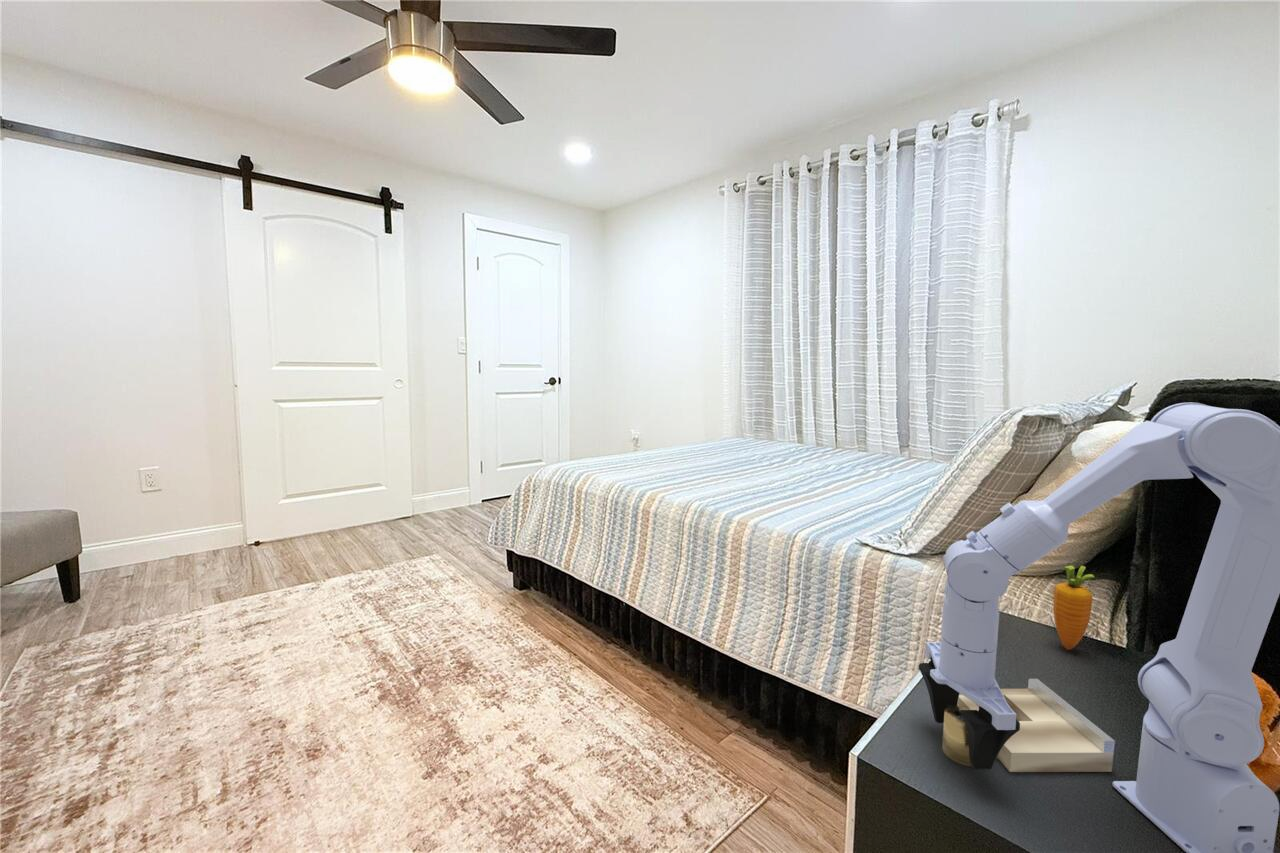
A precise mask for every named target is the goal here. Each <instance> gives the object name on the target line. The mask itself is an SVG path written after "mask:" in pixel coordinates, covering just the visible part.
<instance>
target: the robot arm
mask: <svg viewBox="0 0 1280 853" xmlns="http://www.w3.org/2000/svg"><path fill="white" fill-rule="evenodd" d="M1193 474H1195V476H1196V477H1197V478H1198V479H1199V480H1200V481H1201V482H1202V483H1203V484H1204V485H1205V486H1206V487H1207V488H1208V489H1210V490H1211V491H1212V493H1214V494H1215V495H1216V496H1217V497H1218V498H1219V500H1220V504H1219V508H1218V511H1217V514H1216V517H1215V520H1214V523H1213V526H1212V529H1211V532H1210V535H1209V538H1208V541H1207V544H1206V546H1205V547H1206V548H1205V550H1204V553H1203V556H1202V560H1201V563H1200V565H1199V568H1198V572H1197V574H1196V577H1195V580H1194V584H1193V586H1192V589H1191V591H1190V596H1189V598H1188V601H1187V604H1186V607H1185V610H1184V614H1183V616H1182V619H1181V622H1180V625H1179V627H1178V631H1177V634H1176V637H1175V639H1172V640H1168V641H1165V642H1162V643H1161V644H1160V645H1159V647H1158V651H1157V653H1156V655H1155V656H1154V657H1153V658H1152V659H1151V660H1150V661H1148V662H1147V663H1146V664H1144V665H1143V666H1142V667H1141V669H1139V672H1138V674H1137V683H1138V684H1137V685H1138V687H1139V690H1140V691H1141V693H1142V694H1143V696H1144V697H1145V699H1147V700H1148V701H1149V702H1148V709H1147V711H1146V712H1145V713H1144V715H1143V720H1142V730H1141V735H1140V736H1141V738H1140V748H1139V756H1138V762H1137V772H1136V780H1120V781H1119V780H1113V781H1112V787H1114V789H1116V790H1117V792H1118V793H1120V794H1121V795H1122V796H1123V797H1124V798H1125V799H1126V800H1127V801H1129V803H1131V804H1132V805H1133V806H1134V807H1135V808H1136V809H1137V810H1138V811H1140V812H1141V813H1142V814H1143V815H1144V816H1145V817H1146V818H1147V819H1148V820H1150V821H1151V822H1152V823H1153V824H1154V825H1155V826H1157V827H1158V828H1159V829H1160V830H1161V831H1162V832H1163V833H1164V834H1165V835H1166V836H1168V837H1169V838H1170V839H1171V841H1173V842H1174V843H1176V845H1177V846H1179V847H1180V848H1181V849H1182V850H1183V851H1184V852H1186V853H1274V849H1275V841H1276V835H1277V829H1278V828H1277V827H1278V821H1279V816H1280V802H1279V799H1278V796H1277V795H1276V794H1275V792H1274V791H1273V790H1272V789H1271V788H1270V787H1268V786H1267V785H1266V784H1265V783H1264V782H1262V780H1260V779H1259V777H1257V776H1256V775H1255V773H1254V772H1253V771H1252V769H1251V768H1250V766H1248V764H1250V763H1252V762H1253V761H1255V760H1257V759H1258V758H1259V757H1260V755H1261V754H1262V752H1263V750H1264V747H1265V740H1264V734H1263V732H1262V729H1261V726H1260V716H1261V714H1262V711H1263V702H1262V699H1261V697H1260V693H1259V690H1258V688H1257V685H1256V682H1255V679H1254V676H1253V673H1252V670H1253V667H1254V664H1255V662H1256V658H1257V657H1258V653H1259V651H1260V648H1261V646H1262V644H1263V639H1264V637H1265V635H1266V632H1267V629H1268V625H1270V624H1269V623H1270V621H1271V619H1272V618H1271V617H1272V615H1273V613H1274V610H1275V607H1276V604H1277V602H1278V599H1279V597H1280V426H1279V424H1277V423H1276V422H1275V421H1274V420H1272V419H1271V418H1269V417H1267V416H1265V415H1264V414H1261V413H1260V412H1256V411H1252V410H1250V409H1242V408H1240V409H1239V408H1225V407H1219V406H1218V407H1217V406H1211V405H1207V404H1204V403H1200V402H1180V403H1175V404H1172V405H1168V406H1167V407H1164V408H1163V409H1161V410H1160V411H1158V412H1157V413H1156V414H1155V415H1153V417H1152V418H1151V420H1145V421H1144V422H1141V423H1140V424H1137V425H1135V426H1133V428H1132V429H1130V430H1129V431H1128V432H1127V433H1126V434H1125V435H1124V436H1122V437H1121V438H1120V439H1119V440H1118V441H1117V442H1116V443H1115V444H1113V445H1112V446H1111V447H1109V448H1108V449H1107V450H1105V451H1104V452H1103V453H1102V454H1100V455H1099V456H1098V457H1097V458H1095V459H1094V460H1092V462H1089V464H1088V465H1086V466H1085V467H1084V468H1082V469H1081V470H1079V472H1077V473H1076V474H1075V475H1073V476H1072V477H1071V478H1070V479H1068V480H1067V481H1066V482H1064V483H1063V484H1062V485H1060V486H1059V487H1058V488H1057V489H1055V490H1054V491H1053V492H1051V493H1050V494H1048V496H1047V497H1045V498H1044V499H1042V500H1029V499H1028V500H1020V501H1019V502H1018V503H1017V504H1015V505H1013V504H1012V503H1010V502H1007V503H1006V504H1004V505H1003V506H1002V507H1000V508H999V510H1000V512H1001V515H999V516H997V517H996V518H995V519H994V520H992V521H991V522H989V523H987V525H985V526H984V527H982V528H981V529H980V530H978V531H977V532H975V531H974V530H971V531H970V532H968V533H967V534H965V537H966V539H965V540H963V539H960V540H958V541H955V542H953V543H952V544H951V545H949V546H948V548H947V549H946V551H945V554H944V555H943V556H942V564H943V567H944V569H945V572H946V576H947V577H946V583H945V586H944V595H945V596H944V598H943V600H942V612H941V613H942V615H941V616H942V617H941V629H940V630H941V632H940V641H939V642H938V641H937V642H936V641H935V642H934V641H932V642H931V641H926V642H925V650H924V651H925V653H924V655H925V657H926V658H928V660H929V661H928V662H922V663H921V662H920V663H919V664H918V670H919V672H920V674H921V676H922V678H923V680H924V683H925V685H926V689H927V691H928V692H927V693H928V696H929V701H930V705H931V711H932V714H933V718H934V722H936V723H937V724H944V711H945V709H946V708H947V707H949V706H957V702H958V697H959V694H962V695H964V696H965V697H967V698H968V699H970V700H971V701H973V702H974V703H976V704H977V705H979V706H980V707H979V711H977V710H960V714H961V715H962V718H963V720H964V722H965V725H966V729H967V733H968V739H969V758H970V762H971V765H972V766H971V767H972V768H973V769H975V770H992V768H993V766H994V764H995V761H996V760H997V759H998V758H997V755H998V753H999V752H1000V750H1001V748H1002V747H1003V745H1004V744H1005V743H1006V741H1007V740H1008V739H1009V738H1010V737H1011V736H1013V735H1014V734H1015V733H1016V732H1018V731H1019V730H1020V723H1019V721H1018V720H1017V719H1016V715H1017V714H1016V713H1015V712H1014V711H1013V710H1012V709H1011V708H1010V706H1009V705H1008V703H1007V701H1006V699H1005V697H1004V695H1003V693H1002V691H1001V689H1002V688H1000V686H999V683H998V682H997V679H996V678H995V677H996V665H997V654H998V652H997V650H998V636H999V623H1000V610H999V609H1000V608H999V599H1000V597H1002V596H1004V594H1006V592H1007V590H1008V587H1009V583H1010V582H1009V581H1010V578H1011V577H1012V576H1016V575H1017V574H1019V573H1020V572H1022V571H1024V570H1025V569H1027V568H1028V567H1030V566H1031V565H1033V564H1034V563H1036V562H1037V561H1039V560H1041V559H1042V558H1044V557H1046V556H1047V555H1048V554H1050V553H1051V552H1053V551H1054V550H1056V549H1057V548H1059V547H1060V546H1062V545H1064V544H1065V543H1066V542H1067V541H1068V537H1069V536H1068V535H1069V534H1068V533H1069V527H1070V524H1073V523H1074V522H1076V521H1077V520H1078V519H1081V518H1082V517H1085V516H1086V515H1087V514H1089V513H1090V512H1092V511H1094V510H1096V509H1097V508H1099V507H1100V506H1103V505H1104V504H1106V503H1107V502H1110V501H1111V500H1113V499H1114V498H1116V497H1117V496H1120V495H1121V494H1122V493H1125V492H1126V491H1128V490H1130V489H1131V488H1133V487H1135V486H1136V485H1138V484H1140V483H1142V482H1144V481H1149V480H1179V479H1180V480H1181V479H1193V478H1194V475H1193Z"/></svg>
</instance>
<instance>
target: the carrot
mask: <svg viewBox="0 0 1280 853" xmlns="http://www.w3.org/2000/svg"><path fill="white" fill-rule="evenodd" d="M1086 568H1087V567H1086V566H1085V565H1080V567H1079V568H1078V571H1077V574H1076V576H1075V570H1076V568H1075V567H1074V565H1067V566H1065V567H1064V570H1065V572H1066V576H1067V582H1062V583H1056V584H1055V586H1054V589H1053V617H1054V624H1055V629H1056V632H1057V635H1058V637H1059V639H1060V641H1061V644H1062V646H1063V647H1064V648H1065V650H1067V651H1070V650H1072V649H1074V648H1075V647H1076V646H1077V645H1078V644H1079V643H1080V642H1081V640H1082V639H1083V637H1084V635H1085V633H1086V631H1087V627H1088V625H1089V622H1090V620H1091V612H1092V605H1093V598H1094V596H1093V595H1092V593H1091V592H1090V590H1089V588H1087V587H1086V586H1084V585H1082V584H1083V583H1084V582H1086V581H1088V580H1091V579H1095V575H1094V574H1092V573H1091V574H1090V573H1089V574H1085V575H1083V574H1084V572H1085V570H1086Z"/></svg>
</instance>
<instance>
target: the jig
mask: <svg viewBox="0 0 1280 853" xmlns="http://www.w3.org/2000/svg"><path fill="white" fill-rule="evenodd" d="M1027 684H1028V685H1027V688H1000V689H1001V691H1002V693H1003V695H1004V697H1005V699H1006V701H1007V703H1008V705H1009V706H1010V708H1011V709H1012V710H1013V711H1014V712H1015V713H1016V714H1017V715H1016V719H1017V720H1018V721H1019V723H1020V730H1019V731H1018V732H1016V733H1015V734H1014V735H1013V736H1011V737H1010V738H1009V739H1008V740H1007V741H1006V743H1005V744H1004V745H1003V747H1002V748H1001V750H1000V752H999V753H998V755H997V758H996V759H998V760H999V762H1001V764H1002V765H1003V766H1004V767H1005V768H1006V769H1007V771H1008V772H1009V773H1050V772H1051V773H1068V772H1069V773H1076V772H1077V773H1082V772H1083V773H1089V772H1090V773H1093V772H1096V773H1104V772H1105V773H1107V772H1109V773H1111V772H1112V770H1113V762H1114V755H1115V754H1114V752H1115V744H1116V740H1114V739H1113V738H1112V737H1111V736H1110V735H1108V734H1107V733H1106V732H1104V731H1103V730H1102V729H1101V728H1100V727H1098V726H1097V725H1096V724H1094V723H1093V722H1092V721H1091V720H1090V719H1088V718H1087V717H1086V716H1084V715H1083V714H1082V713H1081V712H1080V711H1079V710H1077V708H1075V707H1073V706H1072V705H1071V704H1069V703H1068V702H1067V701H1066V700H1065V699H1063V698H1062V696H1060V695H1058V694H1057V693H1056V692H1055V691H1053V690H1052V689H1051V688H1050V687H1048V686H1047V685H1046V684H1045V683H1044V682H1042V681H1041V680H1040V679H1038V678H1028V683H1027ZM957 706H959V707H963V708H966V709H969V710H977V711H979V707H980V706H979V705H977V704H976V703H974V702H973V701H971V700H970V699H968V698H967V697H965V696H964V695H962V694H959V697H958V702H957Z"/></svg>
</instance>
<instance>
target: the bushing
mask: <svg viewBox="0 0 1280 853" xmlns="http://www.w3.org/2000/svg"><path fill="white" fill-rule="evenodd" d="M960 710H969V709H966V708H963V707H959V706H949V707H947V708H946V709H945V711H944V723H943V730H942V732H943V733H942V742H941V743H942V745H941V746H942V747H941V749H942V751H943V754H945V756H946V757H947V758H948V759H950V760H951V761H953V762H955V763H957V764H960V765H962V766H966V767H967V766H968V767H973V766H972V765H971V762H970V758H969V739H968V733H967V729H966V725H965V722H964V720H963V718H962V715H961V714H960Z"/></svg>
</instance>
